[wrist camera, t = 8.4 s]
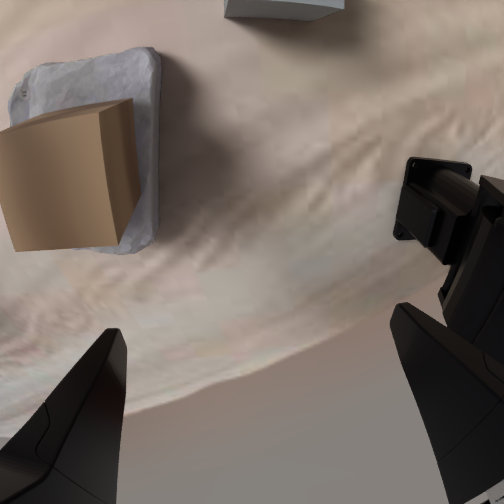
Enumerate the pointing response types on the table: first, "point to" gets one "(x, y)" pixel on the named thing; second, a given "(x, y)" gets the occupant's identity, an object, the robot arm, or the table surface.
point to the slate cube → (282, 8)
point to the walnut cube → (70, 177)
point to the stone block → (101, 90)
